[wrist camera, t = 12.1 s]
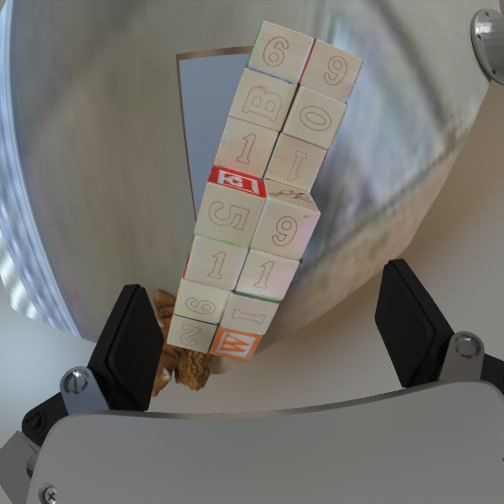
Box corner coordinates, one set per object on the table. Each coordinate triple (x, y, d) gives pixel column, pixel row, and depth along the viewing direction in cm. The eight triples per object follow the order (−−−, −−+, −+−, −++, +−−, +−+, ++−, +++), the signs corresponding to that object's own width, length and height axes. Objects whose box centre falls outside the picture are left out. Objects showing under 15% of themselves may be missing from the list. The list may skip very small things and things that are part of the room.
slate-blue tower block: (290, 58, 25) (298, 52, 21) (293, 259, 36) (299, 281, 32) (188, 64, 25) (179, 60, 21) (210, 264, 36) (207, 286, 32)
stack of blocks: (255, 42, 20) (269, 2, 10) (325, 68, 21) (391, 57, 11) (187, 255, 30) (164, 346, 20) (245, 271, 32) (249, 365, 21)
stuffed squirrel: (154, 283, 42) (130, 351, 31) (233, 326, 47) (232, 395, 36) (130, 321, 46) (107, 384, 35) (201, 357, 51) (195, 421, 40)
